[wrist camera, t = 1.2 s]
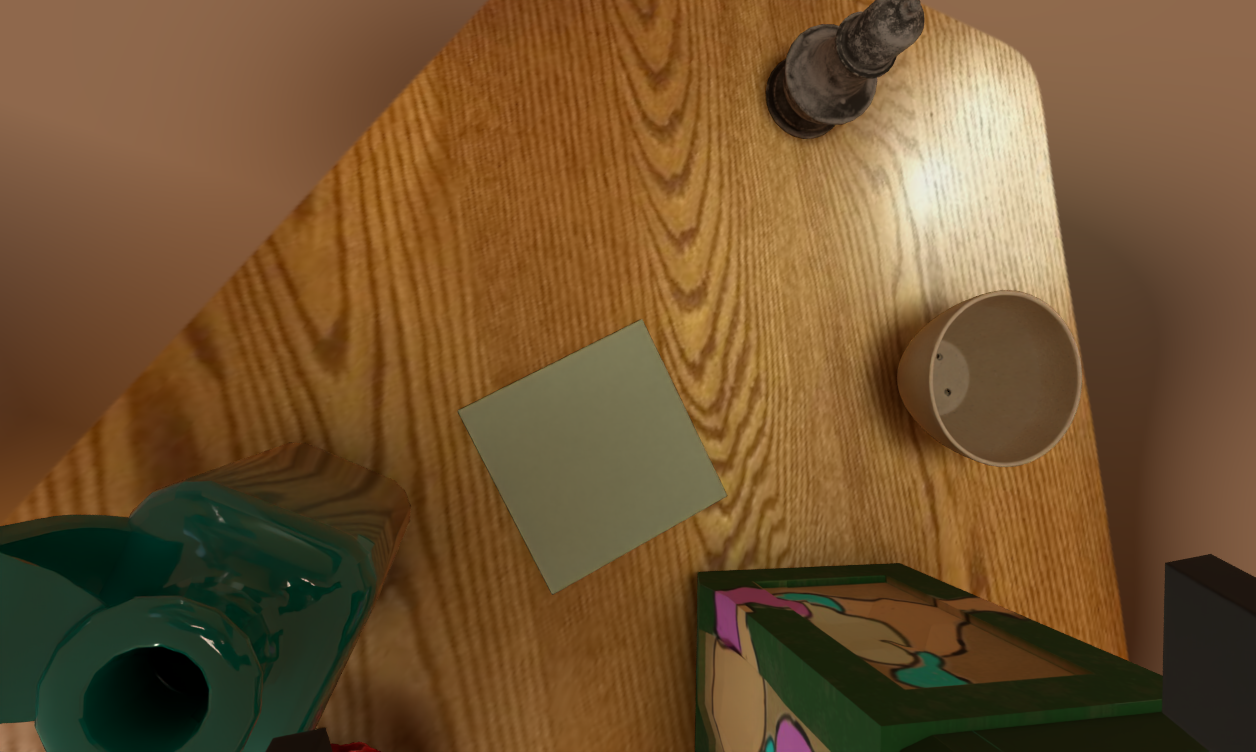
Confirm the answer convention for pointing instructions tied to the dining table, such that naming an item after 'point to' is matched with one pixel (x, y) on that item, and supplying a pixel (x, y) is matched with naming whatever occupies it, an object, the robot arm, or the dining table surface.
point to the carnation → (353, 747)
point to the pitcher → (196, 606)
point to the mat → (593, 455)
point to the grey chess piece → (840, 67)
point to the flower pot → (994, 378)
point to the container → (905, 671)
